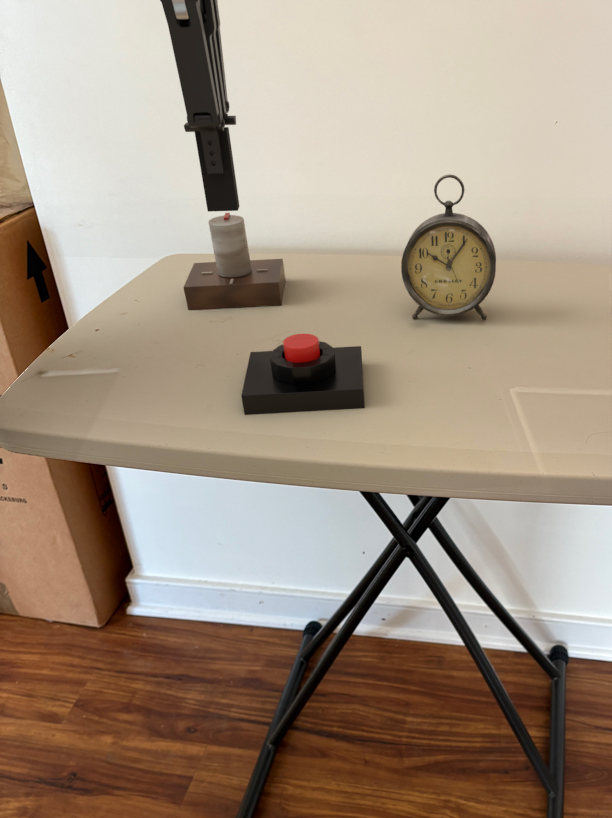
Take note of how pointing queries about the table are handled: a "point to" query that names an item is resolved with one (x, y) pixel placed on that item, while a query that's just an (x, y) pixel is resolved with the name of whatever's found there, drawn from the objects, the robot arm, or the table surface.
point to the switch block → (304, 381)
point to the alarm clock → (449, 262)
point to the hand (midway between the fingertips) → (223, 208)
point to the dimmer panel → (235, 286)
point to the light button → (301, 348)
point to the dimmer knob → (230, 245)
